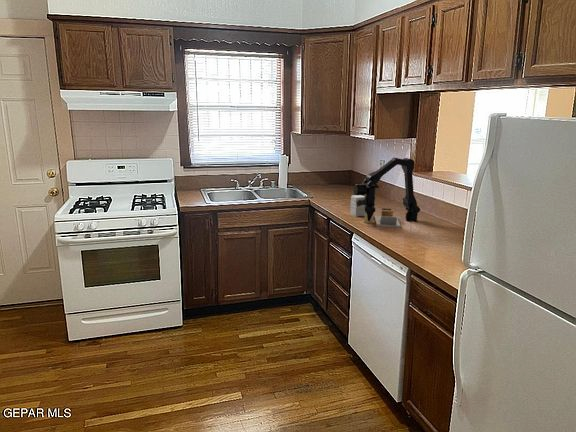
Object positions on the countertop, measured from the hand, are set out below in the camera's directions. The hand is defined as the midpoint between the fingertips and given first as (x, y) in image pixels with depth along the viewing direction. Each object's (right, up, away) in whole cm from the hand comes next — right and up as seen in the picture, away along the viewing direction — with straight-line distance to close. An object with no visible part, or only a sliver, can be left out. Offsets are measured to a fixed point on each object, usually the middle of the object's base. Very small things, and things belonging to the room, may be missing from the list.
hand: (368, 219), depth 273 cm
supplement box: (-4, +3, +19) cm, 19 cm away
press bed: (+12, -1, +2) cm, 12 cm away
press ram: (+13, +2, +8) cm, 15 cm away
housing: (0, -2, 0) cm, 2 cm away
